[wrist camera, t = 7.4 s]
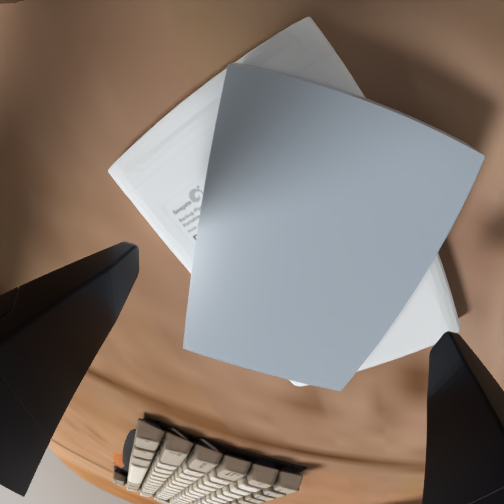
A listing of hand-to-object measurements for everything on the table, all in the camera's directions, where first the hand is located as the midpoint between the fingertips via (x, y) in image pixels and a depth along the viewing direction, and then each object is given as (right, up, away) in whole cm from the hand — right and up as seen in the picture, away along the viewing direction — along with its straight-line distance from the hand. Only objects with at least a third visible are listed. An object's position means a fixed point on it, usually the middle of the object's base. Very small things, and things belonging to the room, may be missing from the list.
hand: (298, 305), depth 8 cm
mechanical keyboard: (-10, -27, +25) cm, 38 cm away
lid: (+1, +1, +2) cm, 2 cm away
